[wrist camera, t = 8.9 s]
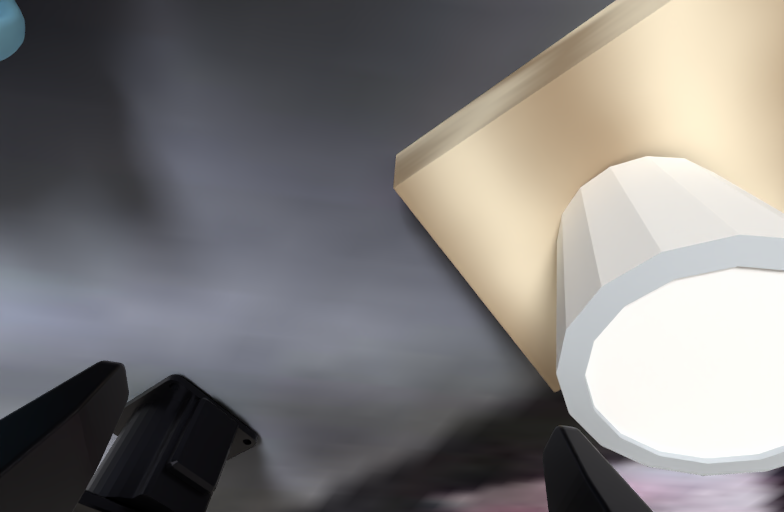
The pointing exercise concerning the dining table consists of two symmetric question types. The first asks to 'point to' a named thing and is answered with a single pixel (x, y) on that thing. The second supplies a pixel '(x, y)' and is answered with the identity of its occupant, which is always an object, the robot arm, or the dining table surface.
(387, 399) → the dining table surface
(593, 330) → the shot glass
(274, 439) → the dining table surface
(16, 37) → the decorative pot
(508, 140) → the ash block
